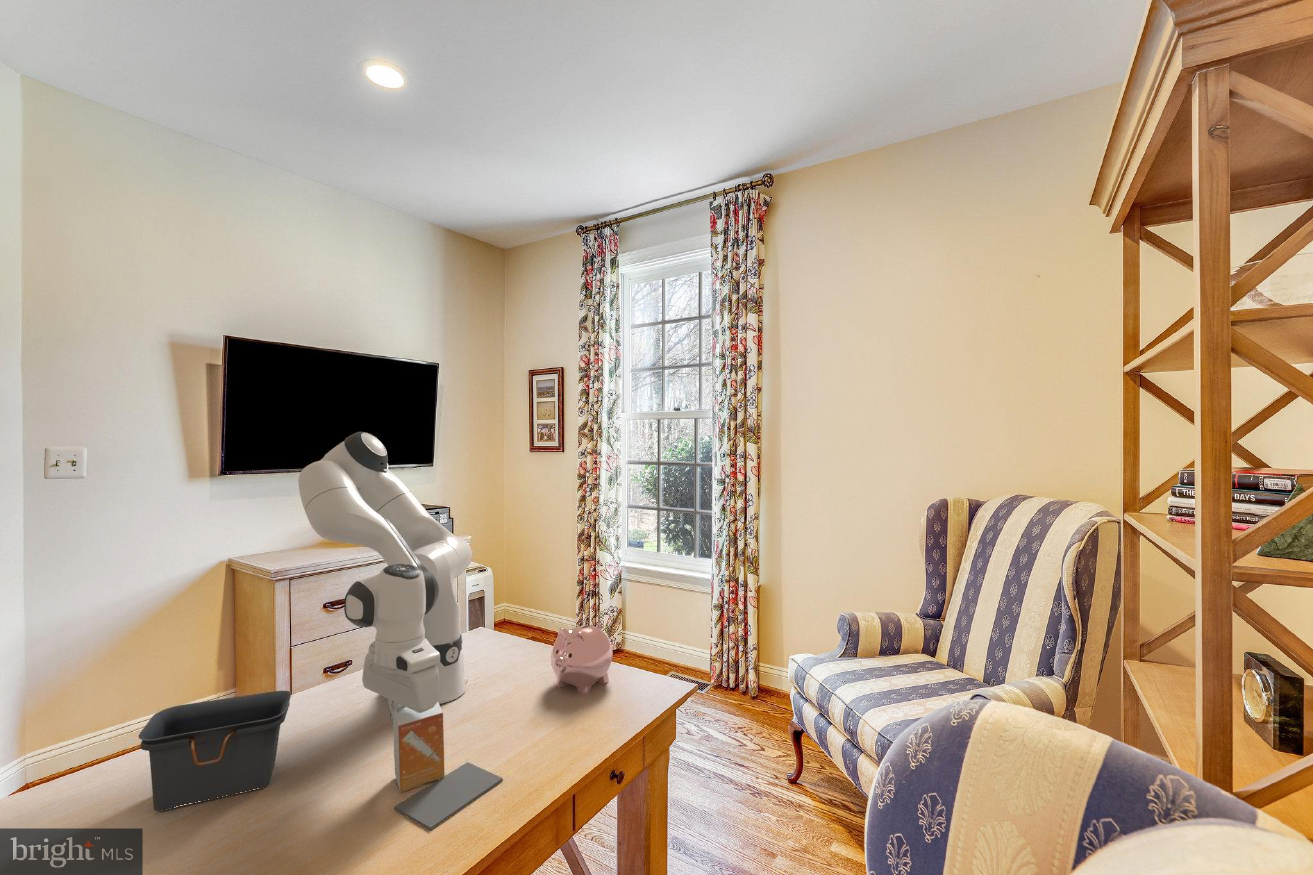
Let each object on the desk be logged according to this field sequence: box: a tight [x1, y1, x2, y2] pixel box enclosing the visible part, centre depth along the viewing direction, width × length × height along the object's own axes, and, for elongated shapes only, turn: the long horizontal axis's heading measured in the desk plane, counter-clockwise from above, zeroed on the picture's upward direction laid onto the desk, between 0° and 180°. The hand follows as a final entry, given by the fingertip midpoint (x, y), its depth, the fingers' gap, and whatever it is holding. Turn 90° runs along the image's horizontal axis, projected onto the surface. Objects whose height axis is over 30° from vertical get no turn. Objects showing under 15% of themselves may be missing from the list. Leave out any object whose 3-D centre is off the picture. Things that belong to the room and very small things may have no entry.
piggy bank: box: [550, 621, 613, 696], centre depth 148 cm, size 15×18×16 cm
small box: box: [392, 701, 446, 793], centre depth 105 cm, size 8×6×13 cm
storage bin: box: [138, 690, 292, 812], centre depth 101 cm, size 21×16×14 cm
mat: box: [393, 761, 504, 831], centre depth 101 cm, size 10×16×1 cm, turn 149°
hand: (397, 721), depth 107 cm, fingers closed, pressing on small box
